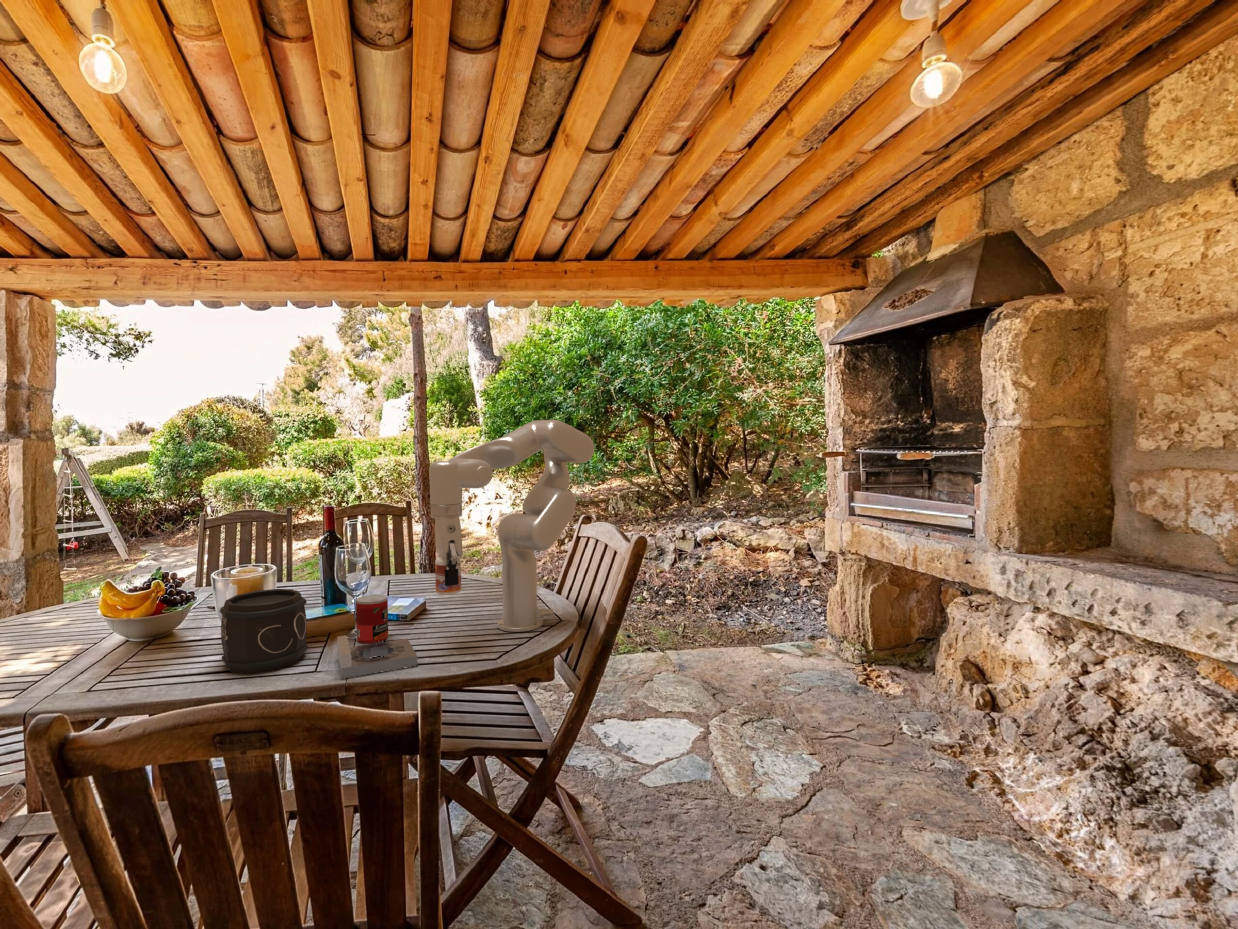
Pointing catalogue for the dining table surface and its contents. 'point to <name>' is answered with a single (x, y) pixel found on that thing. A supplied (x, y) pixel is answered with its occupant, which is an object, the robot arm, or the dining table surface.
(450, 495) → the robot arm
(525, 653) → the dining table surface
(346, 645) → the jig
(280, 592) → the chalk-marked storage tub
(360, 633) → the canned food
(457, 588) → the pill bottle
